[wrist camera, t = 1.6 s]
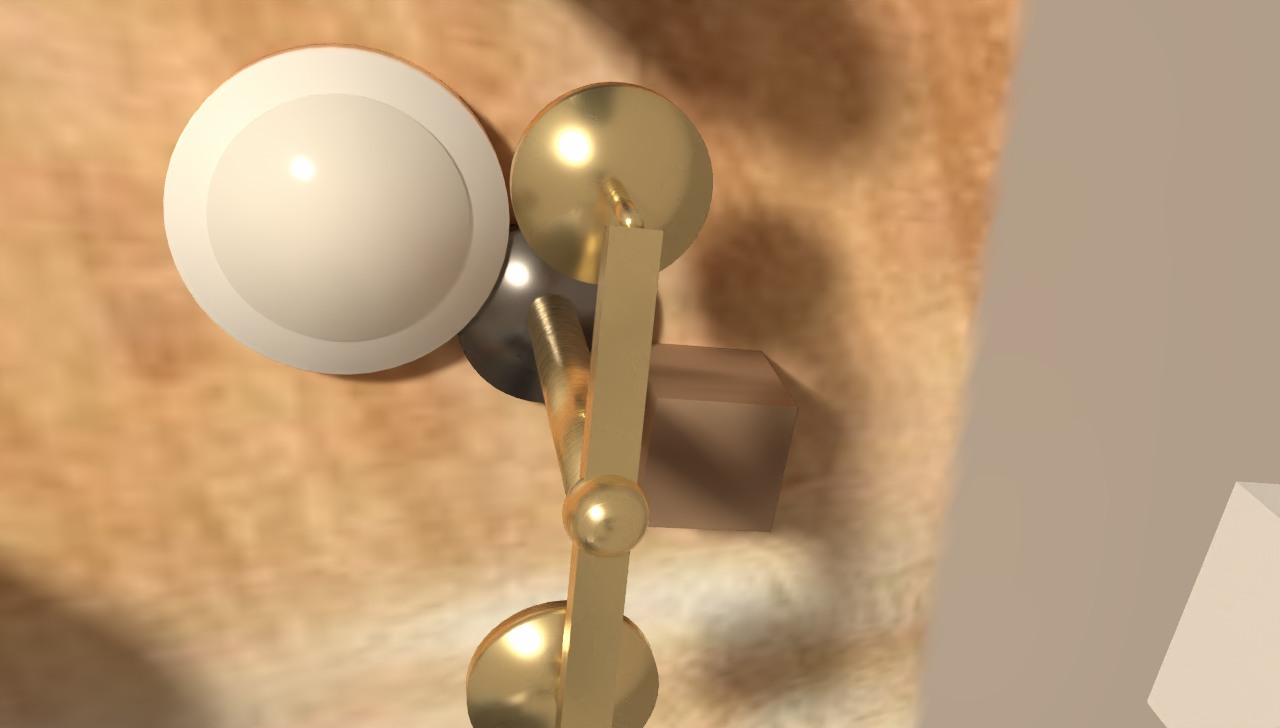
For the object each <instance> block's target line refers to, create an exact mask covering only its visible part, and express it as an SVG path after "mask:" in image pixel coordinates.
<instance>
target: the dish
mask: <svg viewBox="0 0 1280 728" xmlns="http://www.w3.org/2000/svg"><path fill="white" fill-rule="evenodd" d="M163 204H164V223H165V229H166V234H167V239H168V244H169V247H170V250H171V253H172V256H173V259H174V262H175V265H176V267H177V269H178V271H179V273H180V275H181V277H182V279H183V281H184V283H185V285H186V287H187V288H188V290H189V291H190V293H191V294H192V296H193V297H194V299H195V300H196V302H197V303H198V304H199V305H200V307H201V308H202V309H203V310H204V311H205V312H206V313H207V315H208V316H209V317H210V318H211V319H212V320H213V321H214V322H215V323H216V324H217V325H218V326H220V327H221V328H222V329H223V330H224V331H225V332H226V333H227V334H229V335H230V336H231V337H233V338H234V339H236V340H237V341H239V342H240V343H241V344H243V345H244V346H246V347H247V348H249V349H251V350H253V351H255V352H257V353H259V354H261V355H262V356H264V357H266V358H269V359H271V360H274V361H276V362H279V363H282V364H284V365H287V366H290V367H294V368H298V369H302V370H306V371H311V372H318V373H325V374H348V375H351V374H362V373H372V372H377V371H382V370H386V369H391V368H394V367H397V366H400V365H403V364H406V363H409V362H412V361H414V360H416V359H418V358H420V357H422V356H424V355H427V354H429V353H431V352H432V351H434V350H435V349H437V348H438V347H440V346H441V345H443V344H445V343H446V342H448V341H449V340H450V339H451V338H452V337H454V336H455V335H456V334H457V333H458V332H459V331H461V330H462V329H463V328H464V327H465V326H466V325H467V324H468V323H469V321H470V320H471V319H472V318H473V317H474V316H475V315H476V314H477V312H478V311H479V310H480V308H481V307H482V305H483V304H484V302H485V301H486V299H487V298H488V297H489V295H490V293H491V291H492V289H493V287H494V285H495V283H496V281H497V279H498V276H499V273H500V270H501V268H502V265H503V262H504V258H505V253H506V249H507V244H508V236H509V221H510V218H509V204H508V196H507V191H506V186H505V182H504V177H503V173H502V169H501V166H500V163H499V160H498V157H497V155H496V152H495V149H494V147H493V145H492V143H491V141H490V139H489V137H488V135H487V133H486V131H485V129H484V128H483V126H482V125H481V123H480V122H479V120H478V119H477V117H476V116H475V115H474V113H473V112H472V110H471V109H470V108H469V107H468V106H467V105H466V104H465V103H464V102H463V100H462V99H461V98H460V97H459V96H458V95H457V94H456V93H455V92H454V91H452V90H451V89H450V88H449V87H448V86H447V85H446V84H444V83H443V82H442V81H441V80H440V79H438V78H437V77H435V76H433V75H432V74H430V73H429V72H427V71H426V70H424V69H423V68H421V67H419V66H417V65H415V64H413V63H411V62H409V61H407V60H405V59H403V58H401V57H398V56H395V55H393V54H390V53H387V52H384V51H381V50H377V49H373V48H368V47H363V46H358V45H348V44H335V43H330V44H311V45H305V46H300V47H294V48H289V49H285V50H282V51H279V52H276V53H273V54H270V55H267V56H265V57H263V58H261V59H259V60H257V61H255V62H252V63H250V64H248V65H246V66H245V67H243V68H242V69H240V70H239V71H237V72H236V73H234V74H233V75H231V76H230V77H229V78H227V79H226V80H225V81H224V82H223V83H222V84H221V85H219V86H218V87H217V88H216V89H215V90H214V91H213V92H212V93H211V94H210V95H209V96H208V97H207V99H206V100H205V101H204V102H203V104H202V105H201V106H200V107H199V109H198V110H197V111H196V112H195V114H194V115H193V117H192V118H191V119H190V121H189V123H188V124H187V126H186V128H185V129H184V131H183V133H182V134H181V136H180V138H179V140H178V142H177V145H176V147H175V150H174V152H173V154H172V157H171V160H170V164H169V168H168V172H167V176H166V180H165V190H164V201H163Z"/></svg>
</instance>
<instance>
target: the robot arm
mask: <svg viewBox="0 0 1280 728" xmlns="http://www.w3.org/2000/svg"><path fill="white" fill-rule="evenodd" d="M1147 703H1148V704H1149V706H1150V707H1151V708H1152V709H1153V711H1154V712H1155V713H1156V714H1157V716H1158V717H1159V718H1160V720H1161V721H1162V722H1163V723H1164V725H1165V726H1166V727H1167V728H1280V484H1264V483H1248V482H1236V484H1235V487H1234V489H1233V491H1232V494H1231V496H1230V499H1229V501H1228V504H1227V506H1226V509H1225V511H1224V514H1223V516H1222V519H1221V521H1220V523H1219V526H1218V528H1217V531H1216V534H1215V536H1214V538H1213V541H1212V543H1211V546H1210V548H1209V550H1208V553H1207V555H1206V558H1205V560H1204V563H1203V565H1202V568H1201V570H1200V573H1199V575H1198V578H1197V580H1196V583H1195V585H1194V587H1193V590H1192V592H1191V595H1190V597H1189V600H1188V602H1187V605H1186V607H1185V610H1184V612H1183V614H1182V617H1181V619H1180V622H1179V624H1178V627H1177V629H1176V632H1175V634H1174V637H1173V639H1172V642H1171V644H1170V646H1169V649H1168V652H1167V654H1166V656H1165V659H1164V661H1163V664H1162V666H1161V669H1160V671H1159V673H1158V676H1157V679H1156V681H1155V683H1154V686H1153V688H1152V691H1151V693H1150V696H1149V698H1148V701H1147Z"/></svg>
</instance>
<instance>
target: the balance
mask: <svg viewBox="0 0 1280 728" xmlns="http://www.w3.org/2000/svg"><path fill="white" fill-rule="evenodd" d="M712 190H713V173H712V166H711V161H710V157H709V154H708V150H707V148H706V145H705V143H704V141H703V139H702V137H701V135H700V134H699V132H698V130H697V129H696V127H695V126H694V125H693V123H692V122H691V121H690V120H689V119H688V117H687V116H686V115H685V114H684V113H683V112H682V111H681V110H680V109H679V108H678V107H677V106H676V105H675V104H673V103H672V102H671V101H669V100H668V99H666V98H665V97H664V96H662V95H660V94H658V93H656V92H654V91H652V90H650V89H647V88H644V87H641V86H638V85H634V84H629V83H621V82H604V83H595V84H591V85H586V86H583V87H580V88H577V89H574V90H571V91H570V92H568V93H566V94H564V95H562V96H560V97H558V98H557V99H555V100H554V101H552V102H551V103H550V104H548V105H547V106H546V107H545V108H544V109H543V110H542V111H540V112H539V113H538V114H537V116H536V117H535V118H534V119H533V120H532V121H531V123H530V124H529V125H528V127H527V128H526V130H525V131H524V133H523V135H522V137H521V139H520V141H519V143H518V145H517V147H516V150H515V153H514V156H513V160H512V165H511V171H510V195H511V201H512V206H513V210H514V214H515V218H516V220H517V223H518V224H515V225H512V226H510V227H509V236H508V244H507V249H506V253H505V258H504V262H503V265H502V268H501V270H500V273H499V276H498V279H497V281H496V283H495V285H494V287H493V289H492V291H491V293H490V295H489V297H488V298H487V299H486V301H485V302H484V304H483V305H482V307H481V308H480V310H479V311H478V312H477V314H476V315H475V316H474V317H473V318H472V319H471V320H470V321H469V323H468V324H467V325H466V326H465V327H464V328H463V329H462V330H461V331H459V332H458V335H459V339H460V343H461V346H462V348H463V350H464V353H465V355H466V357H467V358H468V360H469V362H470V363H471V365H472V366H473V367H474V369H475V370H476V371H477V372H478V374H479V375H480V376H482V377H483V378H484V379H485V380H486V381H487V382H488V383H490V384H491V385H492V386H494V387H495V388H497V389H499V390H500V391H502V392H504V393H506V394H508V395H511V396H514V397H516V398H520V399H524V400H528V401H534V402H545V404H546V409H547V413H548V418H549V422H550V426H551V431H552V435H553V440H554V444H555V449H556V453H557V457H558V462H559V466H560V471H561V475H562V480H563V484H564V488H565V493H566V498H565V501H564V505H563V512H562V515H563V524H564V527H565V530H566V533H567V535H568V536H569V538H570V540H571V541H572V542H573V546H572V556H571V567H570V577H569V587H568V597H567V600H563V601H554V602H547V603H543V604H539V605H536V606H533V607H530V608H527V609H525V610H522V611H520V612H518V613H516V614H514V615H512V616H511V617H509V618H508V619H506V620H505V621H503V622H502V623H500V624H499V625H498V626H497V627H495V628H494V629H493V630H492V631H491V632H490V633H489V634H488V635H487V636H486V637H485V638H484V640H483V641H482V642H481V644H480V645H479V646H478V648H477V650H476V652H475V653H474V655H473V657H472V660H471V662H470V665H469V668H468V673H467V678H466V695H467V707H468V714H469V717H470V721H471V724H472V726H473V728H643V727H644V725H645V724H646V722H647V721H648V719H649V717H650V716H651V713H652V711H653V709H654V707H655V703H656V700H657V696H658V688H659V680H658V672H657V667H656V663H655V660H654V656H653V653H652V650H651V647H650V645H649V642H648V641H647V639H646V637H645V636H644V634H643V633H642V631H641V630H640V629H639V628H638V627H637V625H635V624H634V623H633V622H632V621H631V620H630V619H629V618H627V617H626V616H624V615H623V613H624V603H625V594H626V584H627V575H628V565H629V555H630V550H632V549H633V548H634V547H636V546H637V544H638V543H639V542H640V541H641V540H642V538H643V537H644V535H645V533H646V530H647V528H648V524H649V518H650V509H649V504H648V500H647V497H646V495H645V493H644V491H643V490H642V488H641V487H640V486H639V485H638V484H637V479H638V469H639V459H640V450H641V440H642V431H643V421H644V411H645V402H646V392H647V382H648V373H649V363H650V354H651V344H652V334H653V325H654V315H655V306H656V296H657V286H658V277H659V272H660V271H661V270H663V269H664V268H666V267H667V266H669V265H670V264H672V263H673V262H674V261H675V260H677V259H678V258H679V257H680V256H681V255H682V254H683V253H684V252H685V251H686V250H687V249H688V248H689V247H690V245H691V244H692V243H693V241H694V240H695V238H696V237H697V236H698V234H699V232H700V230H701V228H702V226H703V224H704V222H705V219H706V217H707V214H708V212H709V207H710V203H711V199H712Z"/></svg>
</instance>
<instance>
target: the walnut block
mask: <svg viewBox="0 0 1280 728" xmlns="http://www.w3.org/2000/svg"><path fill="white" fill-rule="evenodd" d="M797 410H798V406H797V405H796V403H795V402H794V400H793V399H792V397H791V395H790V394H789V392H788V391H787V389H786V388H785V386H784V385H783V383H782V382H781V380H780V379H779V377H778V376H777V374H776V373H775V371H774V370H773V368H772V367H771V365H770V364H769V362H768V360H767V359H766V357H765V356H764V354H763V353H762V351H752V350H739V349H726V348H713V347H700V346H686V345H673V344H660V343H652V344H651V354H650V363H649V373H648V382H647V392H646V402H645V411H644V421H643V431H642V440H641V450H640V459H639V469H638V479H637V484H638V485H639V486H640V487H641V488H642V490H643V491H644V493H645V495H646V497H647V500H648V504H649V509H650V518H649V524H648V527H665V528H689V529H713V530H736V531H760V532H771V528H772V524H773V519H774V515H775V510H776V506H777V501H778V496H779V492H780V487H781V483H782V478H783V474H784V469H785V465H786V460H787V455H788V451H789V446H790V442H791V437H792V433H793V428H794V424H795V419H796V414H797Z"/></svg>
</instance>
